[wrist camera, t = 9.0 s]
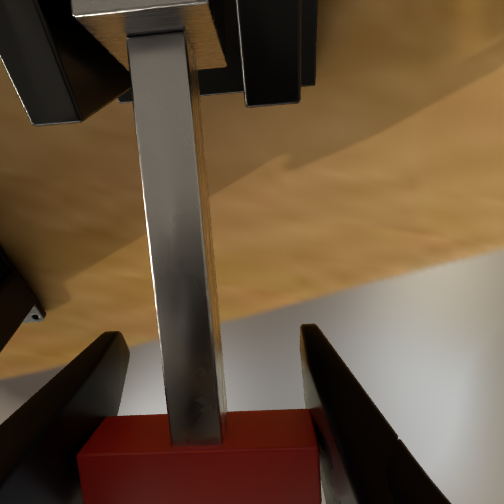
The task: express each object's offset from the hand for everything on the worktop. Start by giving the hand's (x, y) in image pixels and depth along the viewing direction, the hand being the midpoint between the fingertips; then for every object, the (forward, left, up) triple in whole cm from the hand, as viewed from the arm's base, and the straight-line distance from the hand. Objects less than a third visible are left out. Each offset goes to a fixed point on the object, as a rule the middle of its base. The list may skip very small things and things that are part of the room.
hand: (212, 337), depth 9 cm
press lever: (0, +3, -1) cm, 3 cm away
